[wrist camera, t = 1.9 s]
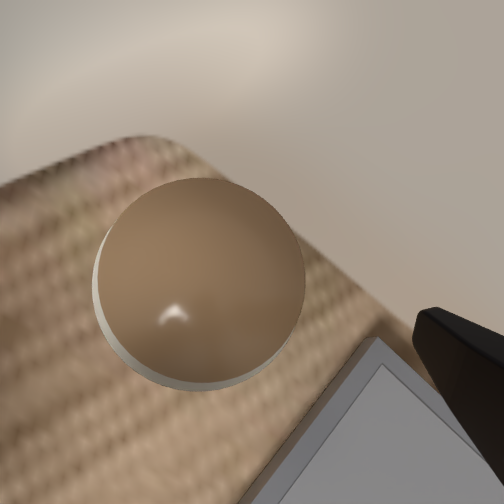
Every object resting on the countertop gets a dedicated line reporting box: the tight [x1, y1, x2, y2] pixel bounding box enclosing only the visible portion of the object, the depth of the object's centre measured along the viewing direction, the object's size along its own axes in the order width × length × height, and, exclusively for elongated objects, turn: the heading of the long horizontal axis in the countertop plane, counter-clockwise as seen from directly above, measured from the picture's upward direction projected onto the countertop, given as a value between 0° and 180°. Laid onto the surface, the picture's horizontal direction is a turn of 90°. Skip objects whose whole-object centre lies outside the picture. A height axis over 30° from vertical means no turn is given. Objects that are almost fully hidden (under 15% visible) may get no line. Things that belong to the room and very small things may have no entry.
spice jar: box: [92, 178, 305, 391], centre depth 14 cm, size 4×4×10 cm
